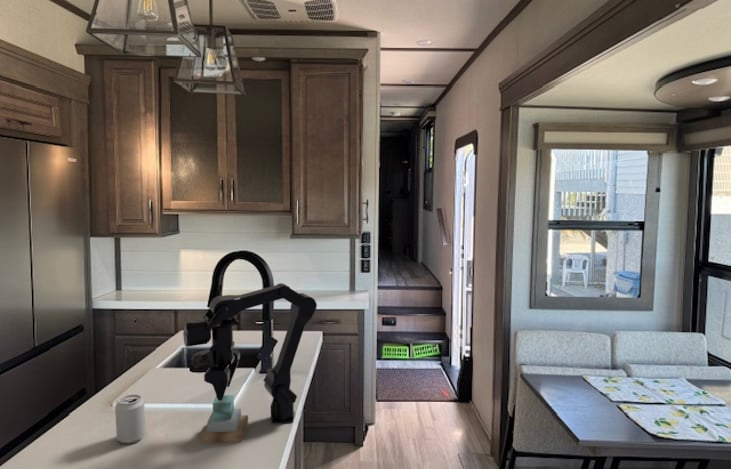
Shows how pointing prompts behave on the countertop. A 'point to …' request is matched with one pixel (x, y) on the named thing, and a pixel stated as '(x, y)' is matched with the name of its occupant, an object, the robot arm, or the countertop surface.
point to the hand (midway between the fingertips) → (223, 393)
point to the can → (130, 419)
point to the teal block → (223, 407)
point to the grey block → (224, 423)
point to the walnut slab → (226, 433)
